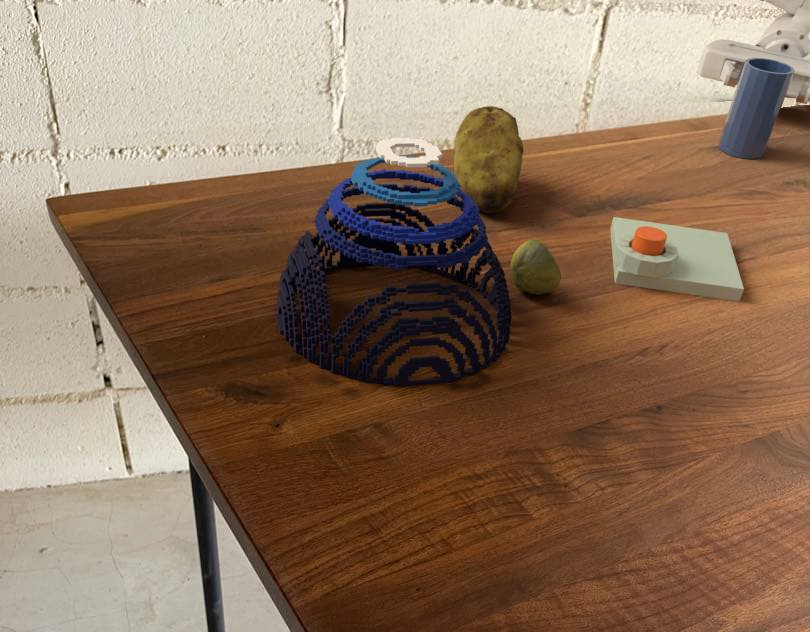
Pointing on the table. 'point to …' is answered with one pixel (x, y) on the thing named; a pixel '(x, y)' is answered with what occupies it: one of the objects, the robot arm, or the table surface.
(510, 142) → the potato
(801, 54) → the robot arm
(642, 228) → the tare button
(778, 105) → the cup
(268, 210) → the table surface
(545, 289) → the green mango
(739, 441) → the table surface
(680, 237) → the scale
